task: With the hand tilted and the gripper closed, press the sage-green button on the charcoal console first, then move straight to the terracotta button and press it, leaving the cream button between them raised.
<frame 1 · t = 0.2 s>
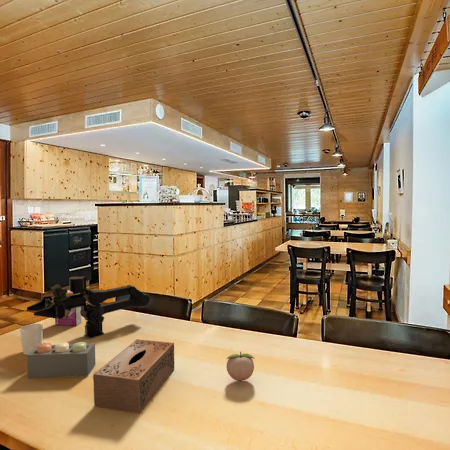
hand: (30, 311, 134), 17 cm above the table, tool horizontal, fingers open, 9 cm apart
candy bar box: (68, 324, 166), on the table
sage button: (79, 350, 119), point 7 cm above the table, slide at 0.0 cm
white cup: (32, 351, 136), on the table
terracotta button: (44, 351, 118), point 7 cm above the table, slide at 0.0 cm
console: (62, 371, 119), on the table
cream button: (62, 351, 119), point 7 cm above the table, slide at 0.0 cm
decorative fruit: (241, 382, 111), on the table
tissue box cover: (138, 387, 109), on the table
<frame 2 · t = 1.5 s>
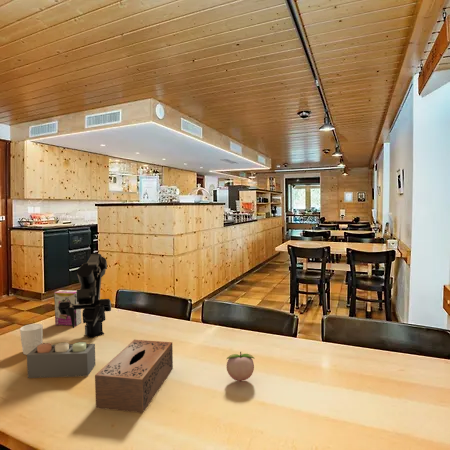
hand: (83, 326, 127), 13 cm above the table, tool tilted 45°, fingers open, 7 cm apart
nothing on the table moved.
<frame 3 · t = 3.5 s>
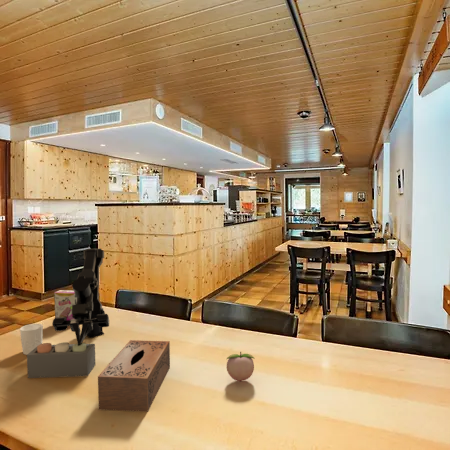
hand: (79, 344, 119), 9 cm above the table, tool tilted 45°, fingers closed, pressing on sage button
sage button: (79, 351, 119), point 7 cm above the table, slide at 0.4 cm, touching gripper
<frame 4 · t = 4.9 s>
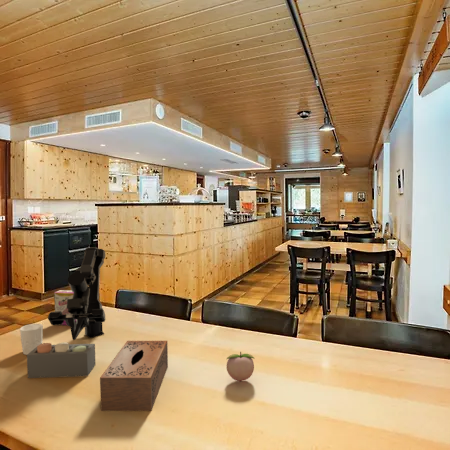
hand: (73, 339, 118), 12 cm above the table, tool tilted 45°, fingers closed
sage button: (79, 354, 119), point 6 cm above the table, slide at 1.4 cm
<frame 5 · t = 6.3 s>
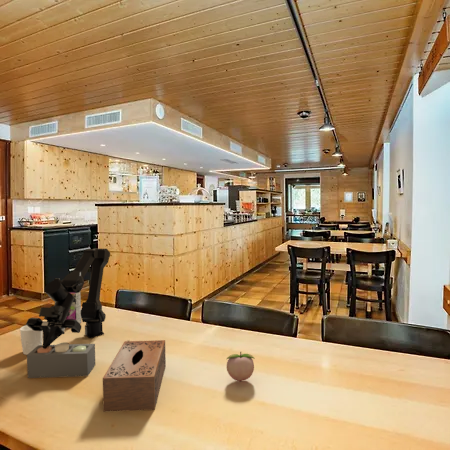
hand: (44, 348, 118), 9 cm above the table, tool tilted 45°, fingers closed, pressing on terracotta button
terracotta button: (44, 355, 118), point 6 cm above the table, slide at 1.2 cm, touching gripper
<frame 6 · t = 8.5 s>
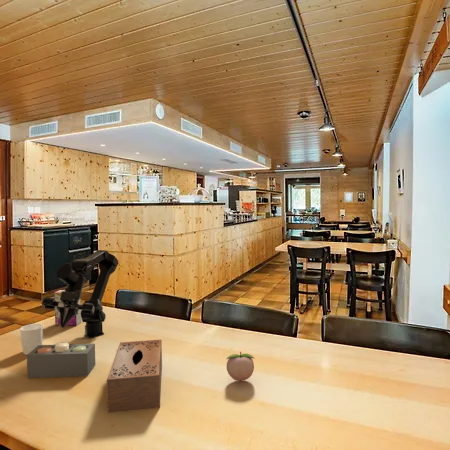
hand: (61, 327, 128), 12 cm above the table, tool tilted 35°, fingers closed
terracotta button: (44, 355, 118), point 6 cm above the table, slide at 1.4 cm
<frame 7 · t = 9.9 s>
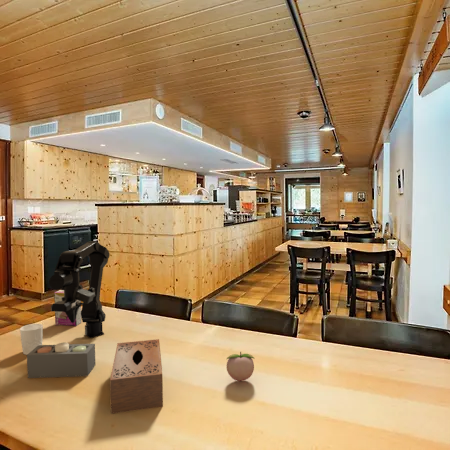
hand: (73, 322, 134), 12 cm above the table, tool pointing down, fingers closed
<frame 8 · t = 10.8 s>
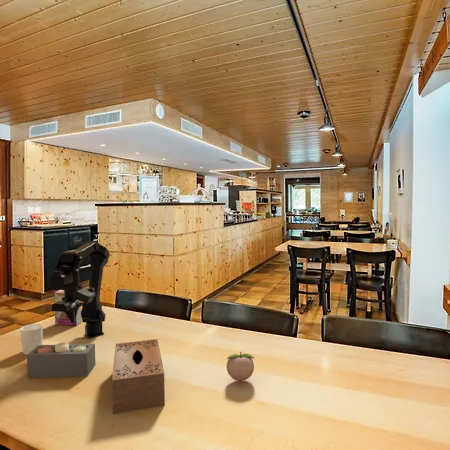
hand: (73, 322, 134), 12 cm above the table, tool pointing down, fingers closed
at the end: sage button slide at 1.4 cm; terracotta button slide at 1.4 cm; cream button slide at 0.0 cm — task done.
